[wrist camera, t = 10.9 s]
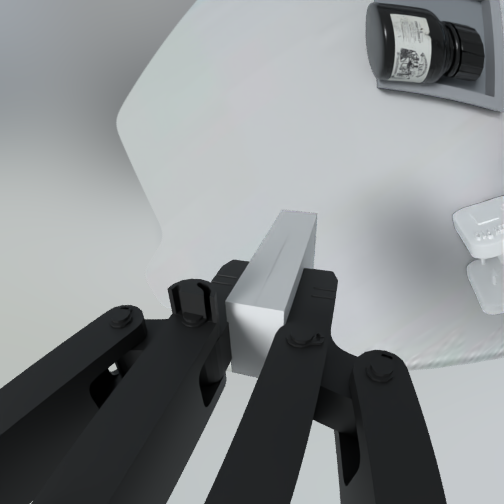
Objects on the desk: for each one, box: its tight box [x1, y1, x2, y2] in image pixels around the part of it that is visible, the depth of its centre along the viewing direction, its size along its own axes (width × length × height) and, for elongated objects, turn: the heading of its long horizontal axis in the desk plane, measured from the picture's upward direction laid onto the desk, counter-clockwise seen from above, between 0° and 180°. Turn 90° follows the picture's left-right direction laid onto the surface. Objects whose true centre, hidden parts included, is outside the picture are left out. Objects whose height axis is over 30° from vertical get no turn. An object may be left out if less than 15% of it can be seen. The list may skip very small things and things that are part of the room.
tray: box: [374, 0, 504, 112], centre depth 25 cm, size 16×16×4 cm
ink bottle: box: [366, 2, 485, 84], centre depth 25 cm, size 10×9×12 cm
